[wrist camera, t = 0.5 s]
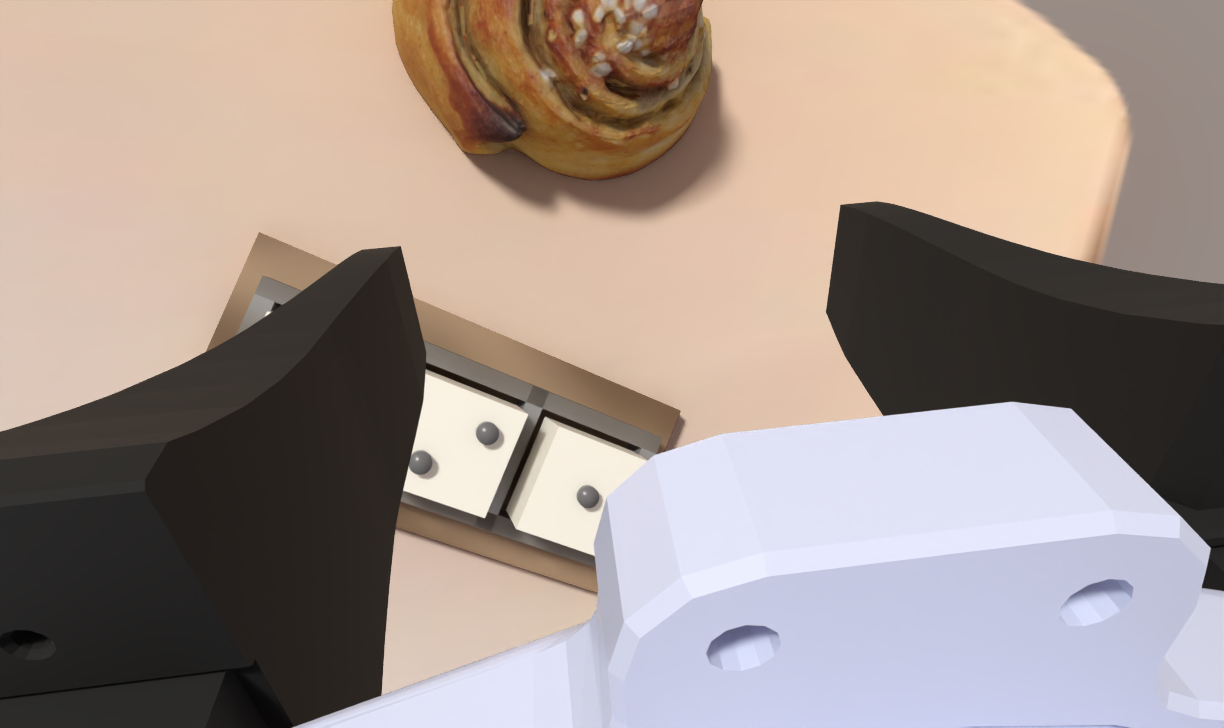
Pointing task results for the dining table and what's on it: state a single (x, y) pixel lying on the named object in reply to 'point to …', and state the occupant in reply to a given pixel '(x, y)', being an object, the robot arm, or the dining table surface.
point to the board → (492, 370)
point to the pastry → (560, 76)
